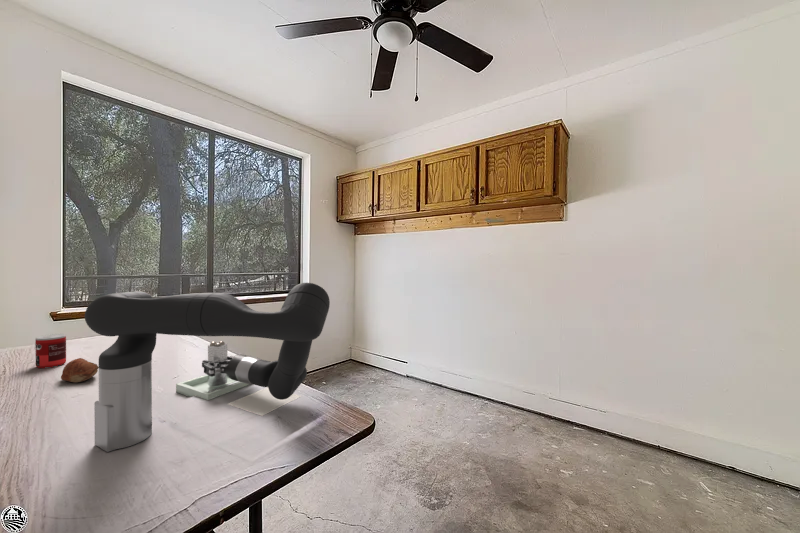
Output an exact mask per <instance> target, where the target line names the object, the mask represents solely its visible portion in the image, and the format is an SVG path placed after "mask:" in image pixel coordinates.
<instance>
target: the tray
mask: <svg viewBox="0 0 800 533" xmlns="http://www.w3.org/2000/svg"><path fill="white" fill-rule="evenodd" d="M227 378H228V382H227V383H226V384H223V385H219V386H209V385H208V375H207V374H204V375H202V376H197V377H194V378H191V379H188V380H185V381H181V382H178V383H176V384H175V393H178V394H180V395H183V396H186V397H189V398H193V397H199V398H201V399H203V400H206V401H209V400H212V399H215V398H216V397H220V396H222V395H225V394H228V393H231V392H234V391H235V390H239V389H241V388H244V387H246V386H249V385H250V384H246V383H242V382H239V381H235V380H232V379H230V378H229V377H228V375H227ZM215 389H216V390H215Z"/></svg>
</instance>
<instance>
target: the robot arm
mask: <svg viewBox="0 0 800 533" xmlns="http://www.w3.org/2000/svg"><path fill="white" fill-rule="evenodd" d="M329 309H330V296H329V294H328V292H327V291H326V290H325V288H323V287H322V286H320V285H318V284H316V283H313V282H301V283H299V284H296V285H294V286H293V287H292V288H291V289H290V291H289V292H288V293H287V295H286V298H285V299H284V302H283V304H282V306H281V308H280V310H278V311H273V312H272V311H257V310H254V309H252V308H251V307H249V306H248V305H247V304H246V303H244V302H243V301H241V299H239V298H237V297H235V296H234V295H232V294H229V293H225V292H193V293H184V294H175V295H169V296H168V295H167V296H161V297H153V296H152V295H151V294H149V293H147V291H140V290H138V291H137V290H136V291H128V292H125V291H124V292H115V293H108V294H104V295H101V296H99V297H98V298H95V299H94V300H93V301H92V302H90V303H89V304H88V306H87V307H86V309H85V312H84V320H85V323H86V325H87V326H88V328H89V329H91V331H93V332H94V333H96V334H98V335H100V336H104V337H117V339H116V340H115V342H114V343H112V345H110V346H108V348H106V349H105V350H103V351H102V352H101V353H100V355H99V357H98V367H99V368H98V400H96V401H95V402H94V404H93V405H94V445H95V446H96V447H98V448H99V449H101V450H103V451H104V452H106V453H108V452H112V451H115V450H118V449H124V448H128V447H130V446H134V445H136V444H140V442H143V441H145V440H146V439H147V438H149V437H150V436H151V435H152V432H153V412H152V411H153V406H152V405H153V402H152V401H153V400H152V399H153V396H152V395H153V384H152V383H153V382H152V381H153V378H152V377H153V373H152V372H153V371H152V370H153V368H152V367H153V364H152V362H153V357H152V356H153V351H154V350H155V349H156V345H157V334H158V335H169V336H193V337H245V338H260V339H261V338H262V339H271V340H277V341H279V340H280V341H282V344H281V347H280V349H279V353H278V359H277V360H273V361H271V360H265V359H261V358H259V357H256V356H252V355H246V354H237V355H227V360H218V361H216V362H212V361H208V359H204V360H202V361H201V368H203V374H204V375H209V376H212V377H213V376H215V373H224V374H227V375H228V377H229V378H230V379H232V380H235V381H236V382H242V383H246V384H249V385H253V386H254V385H255V386H258V387H262V388H267V387H268V388H269V391H270V393H271V395H272V396H273V397H275V398H277V399H280V400H283V399H287V398H289V397H290V396H291V395H292V394H295V392H296V391H297V389H298V388H299V387H300V386H301V385H302V383H303V382H304V381H305V379H306V378H307V375H308V371H307V368H306V367H307V363H308V360H309V357H310V352H311V348H312V342H313V341H314V340H315V339H317V338H319V337H320V335H321V334H322V332H323V329H324V326H325V323H326V320H327V317H328V313H329V311H330V310H329ZM220 363H221V364H220ZM213 364H214V365H215V366H213Z"/></svg>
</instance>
